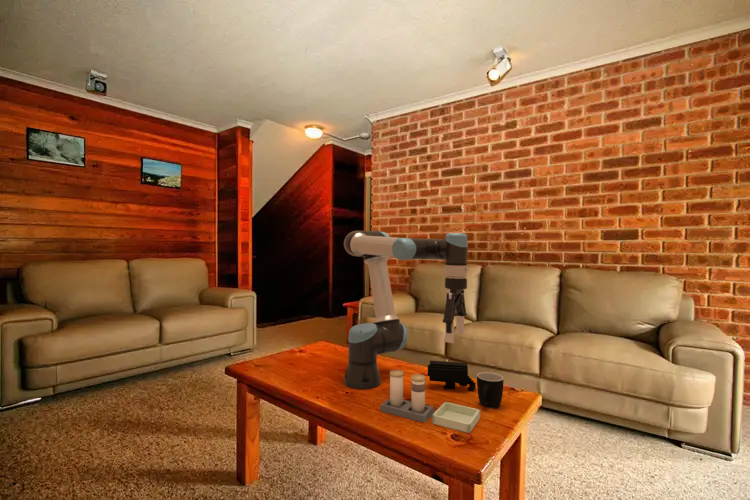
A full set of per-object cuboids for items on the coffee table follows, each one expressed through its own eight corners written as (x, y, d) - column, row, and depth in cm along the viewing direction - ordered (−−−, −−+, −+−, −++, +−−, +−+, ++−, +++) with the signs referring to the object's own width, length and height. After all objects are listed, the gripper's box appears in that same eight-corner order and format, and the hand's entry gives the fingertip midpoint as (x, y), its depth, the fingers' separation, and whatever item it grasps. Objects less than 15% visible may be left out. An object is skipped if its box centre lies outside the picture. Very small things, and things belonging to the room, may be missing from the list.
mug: (480, 397, 135) (481, 370, 135) (506, 403, 130) (506, 375, 130) (470, 409, 124) (470, 380, 124) (497, 416, 120) (497, 385, 120)
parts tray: (431, 424, 113) (431, 415, 113) (444, 410, 124) (445, 401, 124) (469, 435, 107) (469, 424, 107) (480, 419, 118) (480, 409, 118)
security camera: (476, 394, 138) (476, 367, 138) (427, 389, 142) (427, 364, 142) (474, 387, 145) (475, 362, 145) (428, 383, 149) (428, 359, 149)
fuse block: (380, 412, 122) (380, 373, 122) (391, 403, 129) (391, 366, 129) (424, 424, 114) (424, 382, 114) (434, 414, 121) (434, 375, 121)
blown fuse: (408, 415, 118) (408, 377, 118) (414, 410, 122) (414, 373, 122) (421, 419, 116) (421, 380, 116) (427, 413, 120) (427, 375, 120)
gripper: (457, 280, 114) (455, 348, 114) (474, 275, 136) (473, 332, 136) (434, 279, 118) (433, 344, 118) (455, 274, 140) (454, 329, 140)
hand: (454, 338), depth 127 cm, fingers open, 13 cm apart
